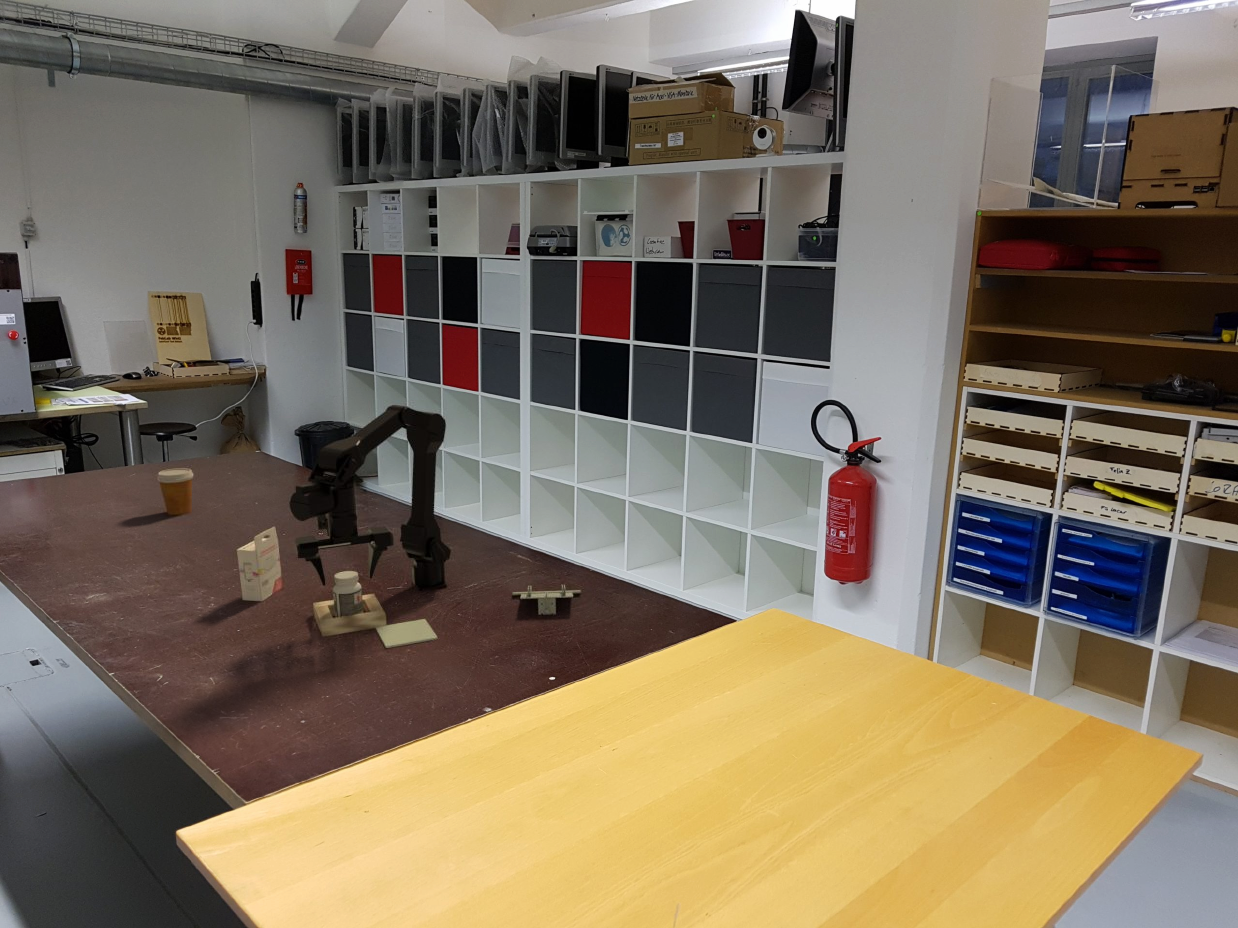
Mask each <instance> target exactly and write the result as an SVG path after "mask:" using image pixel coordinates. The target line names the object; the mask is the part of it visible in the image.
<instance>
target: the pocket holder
mask: <svg viewBox="0 0 1238 928" xmlns="http://www.w3.org/2000/svg"><path fill="white" fill-rule="evenodd" d="M362 600H363V611H364V613H362V614H356V615H349V616H343V617H337V618H335V617H333V616H335V609H334V599H331V600H324V601H319V602H318V601H317V602H313V603H312V604H313V605H312V606H313V615H314V618H315V621H316V623H317V626H318V629H319V631H320V633H321V636H322V637H329V636H334V635H335V636H336V635H340V634H346V633H353V632H358V631H364V630H369V629H376V627H380V626H386V625H387V615H386V611H385V610H384V609H383V607H382V605H381V604H380V602H379V600H378V598H377V597H376V595H375V593H369V594H362Z"/></svg>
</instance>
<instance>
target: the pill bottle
mask: <svg viewBox="0 0 1238 928" xmlns="http://www.w3.org/2000/svg"><path fill="white" fill-rule="evenodd" d="M333 577H334V578H333V579H334V582H335V585H334V586H333V589H332V595H333V600H334V609H335V615H334V616H335V617H334V618H337V617H343V616H349V615H356V614H362V613H365V611H363V600H362V595H363V589H362V585H361V583H359V582H358V581H359V573H358V572H357V571H353V570H344V571H341V572H337V573H335V574H334V576H333Z"/></svg>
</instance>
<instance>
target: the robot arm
mask: <svg viewBox="0 0 1238 928" xmlns="http://www.w3.org/2000/svg"><path fill="white" fill-rule="evenodd" d="M401 429H405V432H406V439H407V441H408V445H409V446H410V449H411V450H412V453H413V454H412V455H413V456H412V477H411V478H412V482H411V485H412V486H411V506H410V507H411V509H410V510H411V511H410V513H411V514H410V516H409V518H408V520H407V522H406V523H401V526H400V533H401V534H400V538H399V542H401V547H402V549H403V550H404V551H405V554H406V556H407V558H408V559H411V560H413V565H411V567H410V568H411V581H412V582H411V583H413V585H414V586H415V587H416V588H417V590H418V591H425V590H432V589H438V588H445V587H448V583H447V582H446V574H445V563H446V562H447V561H448V560H450V559H451V552H452V549H451V548H450V547H449V546H447V545H446V544H445V542H443V541H442V537H441V535H442V534H441V528H440V526H439V524H438V522H437V520H436V517H435V498H436V497H435V496H436V495H435V493H436V471H437V470H436V468H437V467H436V466H437V453H438V451H439V450H440V448H441V446H442V445H443V443H444V440H445V435H446V429H447V424H446V419H445V418H444V417H443V415H442V414H440V413H436V412H429V411H421V410H416V409H414V408H411V407H409V406H407V405H399V404H392V405H390V406H388V407H386V409H385V411H383V412H382V413H381V414H380V415H378V416H377V417H375V418H374V419H373V420H371V421H370V422H369V423H367V424H366V425H365V426H363V427H362V428H361V429H359V430H358V431H357V432H356V433H354V434H352V435H351V436H349V437H346V438H344V439H343V438H342V439H340V440H336V441H334V442H332V443H329V444H327V445H325V446H323V447H322V448H321V449H319V452H318V457H317V459H316V460H315V461H316V462H315V464H314V466H313V468H312V470H311V472H310V474H309V477H308V479H307V482H308V483H306V484H299V485H296V486H295V492H293V494H292V495H291V497H290V500H289V502H288V503H289V508H290V512H291V514H292V516H293V517H294V518H295V519H296V520H298V521H300V522H305V521H308V520H312V519H315V521H316V530H317V531H326V536H327V537H328V538H323V539H317V538H316V536H315V535H305V536H300V537H299V536H297V537H296V538H295V539H294V541H293V542H294V543H293V545H294V552H295V554H296V556H297V557H296V558H298V559H304V562H311V564H312V566H313V567H314V568H315V570H316V572H317V574H318V577H319V578H320V582H321V584H322V586H323V587H325V586H326V578H325V577H326V576H325V572H324V568H323V562H322V557H321V556H320V553H319V551H320V550H327V549H333V548H340V547H349V546H356V545H357V546H358V545H363V544H364V545H365V544H367V549H368V563H367V565H368V566H367V572H368V578H369V580H371V579H373V575H374V573H375V570H376V567H377V565H378V562H379V560H380V558H381V556H382V554H383V552H385V551H388V547H392V546H394V544H395V543H394V535H393V533H392V531H391V530H390V529H389V528H388V527H387V526H386V525H384V526H382V525H381V526H376V527H369V528H368V533H362V534H359V525H358V524H359V523H358V522H359V521H358V511H357V510H358V509H357V508H358V507H357V494H356V485H358V484H361V483H363V482H364V478H362V477H360V476H359V475H358V474H357V472H358V471H359V470H360V469H361V468H362V467H363V466H364V465H365V461H366V459H367V456H369V454H370V453H371V452H372V451H374V450H375V449H376V448H378V447H379V446H380V445H381V444H383V443H385V441H387V440H388V439H389V438H391V437H392V436H393V435H394V434H395V433H397V432H398V431H400V430H401ZM325 474H326V475H325ZM329 475H330V476H329ZM334 476H336V477H334Z"/></svg>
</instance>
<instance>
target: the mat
mask: <svg viewBox="0 0 1238 928" xmlns="http://www.w3.org/2000/svg"><path fill="white" fill-rule="evenodd" d="M375 630H376V632H377V634H378V636H379V637H380V640H381V642H382V643H383V645H384V647H385V648H386V649H390V648H395V647H400V646H401V647H402V646H406V645H411V644H416V643H423V642H429V641H434V640H438V636H437V634H436V633H435V631H434V630H433V629H432V627H431V625H430V624H429V622H428V621H427V620H426V618H422V619H417V620H410V621H405V622H400V623H399V622H398V623H393V624H386V626H380V627H376V628H375Z"/></svg>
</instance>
